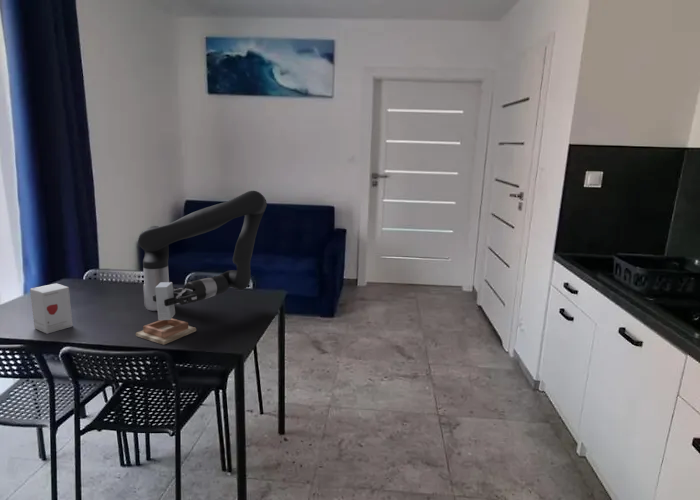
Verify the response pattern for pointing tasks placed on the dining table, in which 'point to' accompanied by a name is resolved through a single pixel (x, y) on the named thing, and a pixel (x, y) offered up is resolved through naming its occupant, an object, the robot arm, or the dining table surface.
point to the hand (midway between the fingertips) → (159, 300)
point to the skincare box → (162, 293)
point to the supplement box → (51, 308)
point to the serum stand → (165, 331)
